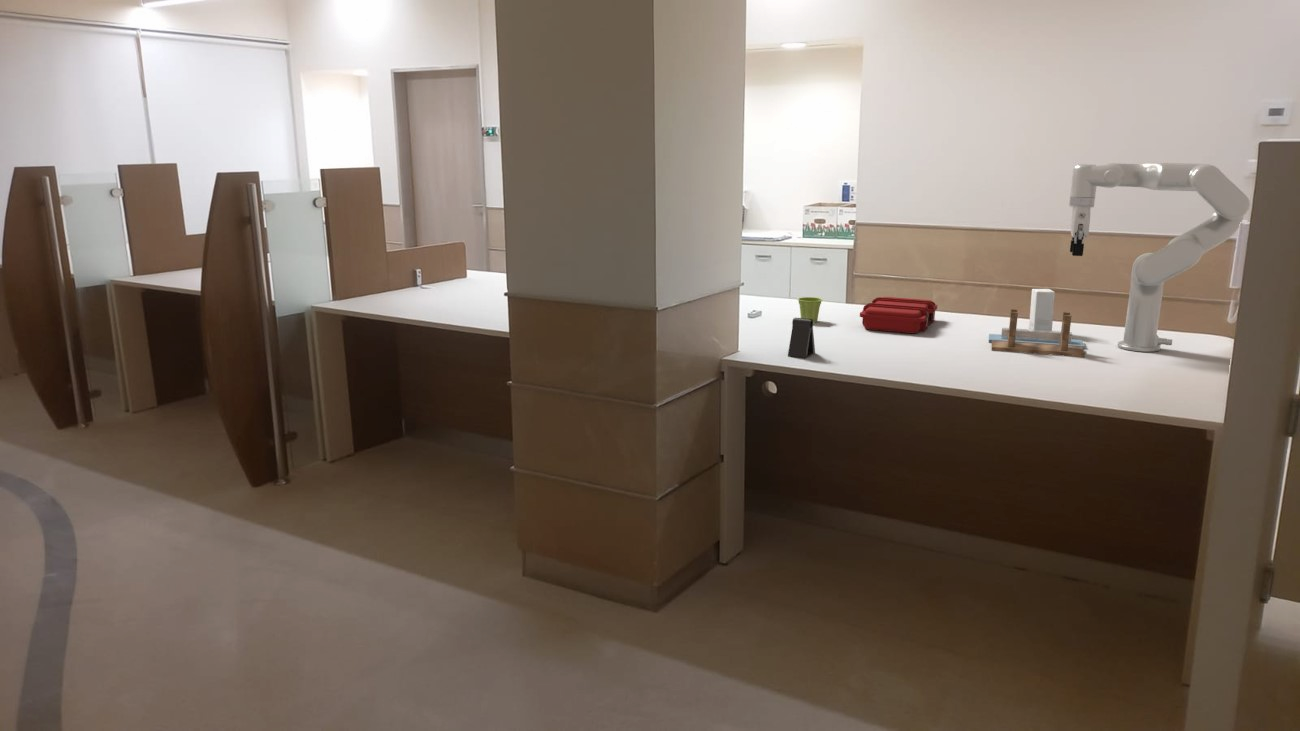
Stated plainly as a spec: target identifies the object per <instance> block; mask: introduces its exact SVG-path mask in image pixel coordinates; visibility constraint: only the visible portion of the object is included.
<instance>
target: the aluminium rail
mask: <svg viewBox="0 0 1300 731" xmlns="http://www.w3.org/2000/svg"><path fill="white" fill-rule="evenodd" d="M1000 335H1001V339H1008V335H1009V327H1002V328H1001V334H1000ZM1060 337H1061V330H1059V331H1057V330H1052V331H1046V330H1030V329H1029V328H1016V337H1015V339H1016V340H1030V341H1044V342H1059V343H1060ZM1072 338H1073V333H1072V332H1071V331H1070V334H1069V343H1071V339H1072Z"/></svg>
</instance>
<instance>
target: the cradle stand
mask: <svg viewBox="0 0 1300 731" xmlns="http://www.w3.org/2000/svg"><path fill="white" fill-rule="evenodd" d="M1018 314H1019V312H1018V309H1017V308H1010V316H1009V326H1008V328H1009V335H1008V342H1005V341H992V343H991V351H995V352H996V351H997V352H1009V353H1020V352H1021V353H1022V354H1023V353H1025V354H1034V353H1036V354H1037V355H1048V354H1052V355H1051V356H1062V355H1064V357H1077V358H1079V357H1080V358H1085V356H1086V353H1085V349H1083V347H1077V346H1068V343H1069V334H1070V332H1071V323H1072V315H1071V311H1070V312H1069V311H1063V312H1062V320H1061V327H1060V328H1061V330H1060V331H1061V337H1060V345H1049V344H1034V343H1020V342H1015V337H1016V329H1017V325H1018Z"/></svg>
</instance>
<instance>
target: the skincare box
mask: <svg viewBox="0 0 1300 731" xmlns="http://www.w3.org/2000/svg"><path fill="white" fill-rule="evenodd" d="M1055 295H1056V292H1055V291H1054V290H1052V289H1050V288H1032V289H1031V296H1030V297H1031V298H1030V309H1029V310H1030V311H1029V323H1028V329H1030V330H1046V331H1053V321H1054V320H1053V319H1054V310H1055V309H1054V307H1055Z"/></svg>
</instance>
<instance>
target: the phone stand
mask: <svg viewBox="0 0 1300 731" xmlns="http://www.w3.org/2000/svg"><path fill="white" fill-rule="evenodd" d="M791 324H792V327H791V334H790V341H789V347H788V351H787V352H788V353H787V357H791V358H798V359H807V358H809V357H811V356H812V355H814V354H816V348H815V347H816V346H815V338H814V322H813V320H812V319H804V318H801V317H793V319H792V322H791Z"/></svg>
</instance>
